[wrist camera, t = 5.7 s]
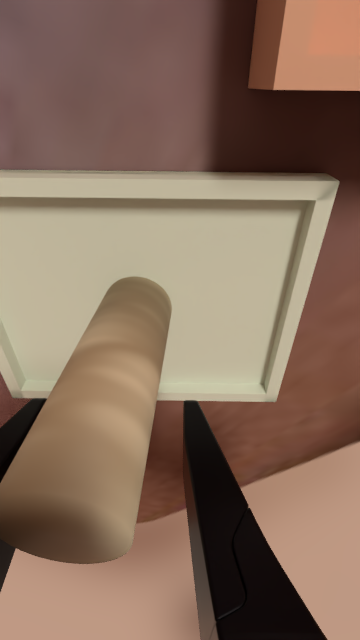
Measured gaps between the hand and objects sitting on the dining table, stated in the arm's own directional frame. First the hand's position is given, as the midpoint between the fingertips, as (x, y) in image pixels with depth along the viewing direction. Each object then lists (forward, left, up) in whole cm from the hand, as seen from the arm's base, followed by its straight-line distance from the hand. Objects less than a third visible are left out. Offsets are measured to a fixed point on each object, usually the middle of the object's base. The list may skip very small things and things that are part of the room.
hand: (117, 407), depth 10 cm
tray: (0, 0, -6) cm, 6 cm away
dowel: (0, 0, -5) cm, 5 cm away
